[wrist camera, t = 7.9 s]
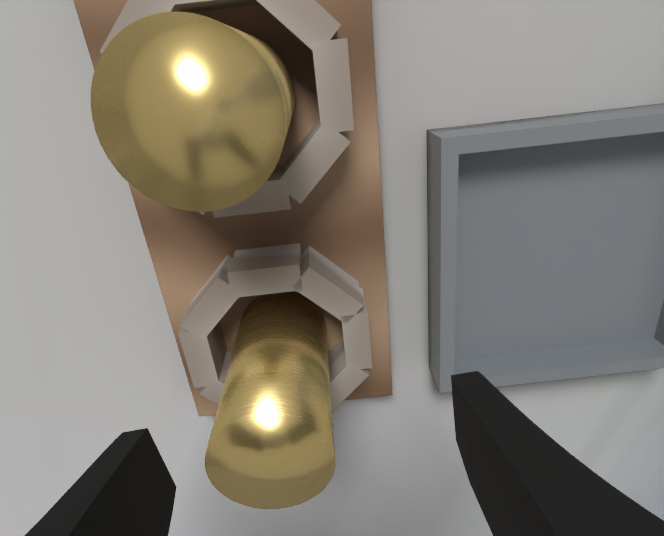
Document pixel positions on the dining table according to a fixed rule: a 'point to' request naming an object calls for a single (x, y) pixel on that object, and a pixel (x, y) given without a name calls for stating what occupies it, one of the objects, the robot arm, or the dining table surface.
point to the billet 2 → (275, 407)
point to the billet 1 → (192, 109)
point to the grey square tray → (547, 247)
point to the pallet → (281, 200)
